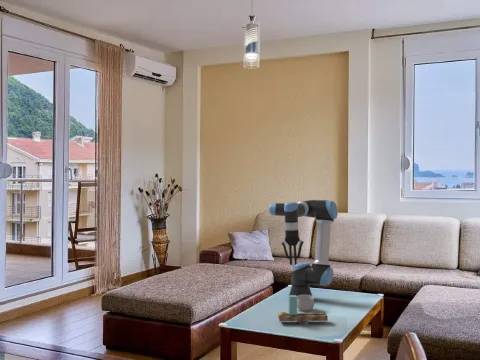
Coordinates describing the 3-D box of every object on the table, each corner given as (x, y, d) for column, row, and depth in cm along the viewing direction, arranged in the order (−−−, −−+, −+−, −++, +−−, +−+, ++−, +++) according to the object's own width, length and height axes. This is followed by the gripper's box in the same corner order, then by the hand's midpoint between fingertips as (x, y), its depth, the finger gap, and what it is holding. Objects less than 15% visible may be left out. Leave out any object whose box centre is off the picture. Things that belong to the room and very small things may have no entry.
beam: (279, 324, 284) (279, 314, 284) (277, 321, 291) (277, 311, 291) (327, 324, 285) (327, 314, 285) (324, 320, 292) (325, 310, 292)
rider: (289, 318, 285) (289, 296, 285) (288, 315, 289) (288, 295, 289) (296, 317, 285) (296, 296, 285) (295, 315, 289) (295, 295, 289)
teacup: (315, 308, 317) (316, 295, 317) (312, 313, 307) (312, 299, 307) (293, 306, 322) (293, 293, 322) (289, 311, 312) (289, 297, 311)
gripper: (280, 230, 295) (282, 272, 296) (304, 229, 295) (305, 271, 296) (279, 229, 302) (281, 269, 303) (302, 227, 302) (304, 268, 303)
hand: (293, 270), depth 300 cm, fingers closed
